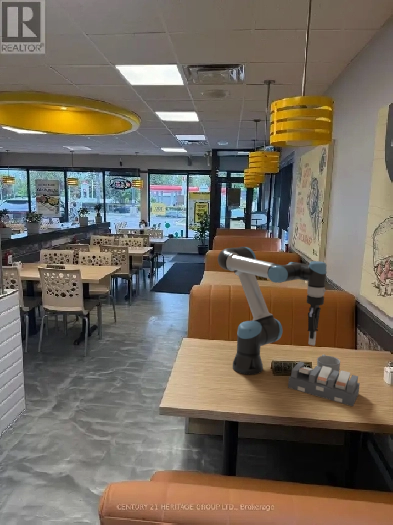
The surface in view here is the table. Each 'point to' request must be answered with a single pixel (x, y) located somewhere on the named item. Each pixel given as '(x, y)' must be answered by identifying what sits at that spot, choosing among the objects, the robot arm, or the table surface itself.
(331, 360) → the teacup
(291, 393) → the table surface
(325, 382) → the block
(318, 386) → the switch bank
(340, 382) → the rocker
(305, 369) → the rocker
